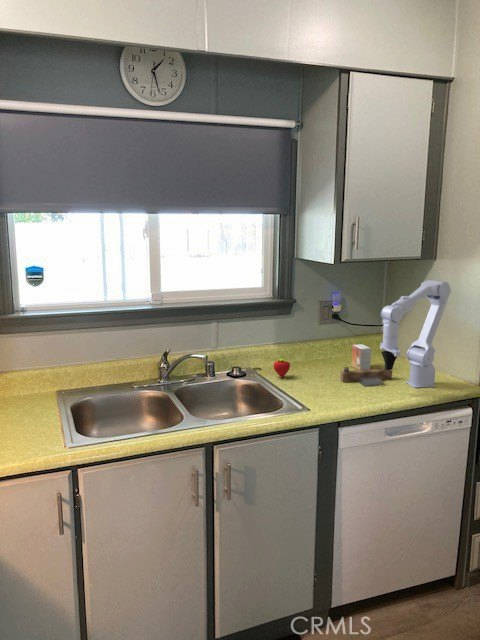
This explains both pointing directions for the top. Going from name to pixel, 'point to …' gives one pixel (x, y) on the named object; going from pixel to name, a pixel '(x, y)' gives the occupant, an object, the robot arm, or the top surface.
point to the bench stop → (365, 374)
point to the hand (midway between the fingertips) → (389, 369)
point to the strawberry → (281, 367)
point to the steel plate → (369, 381)
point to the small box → (361, 357)
